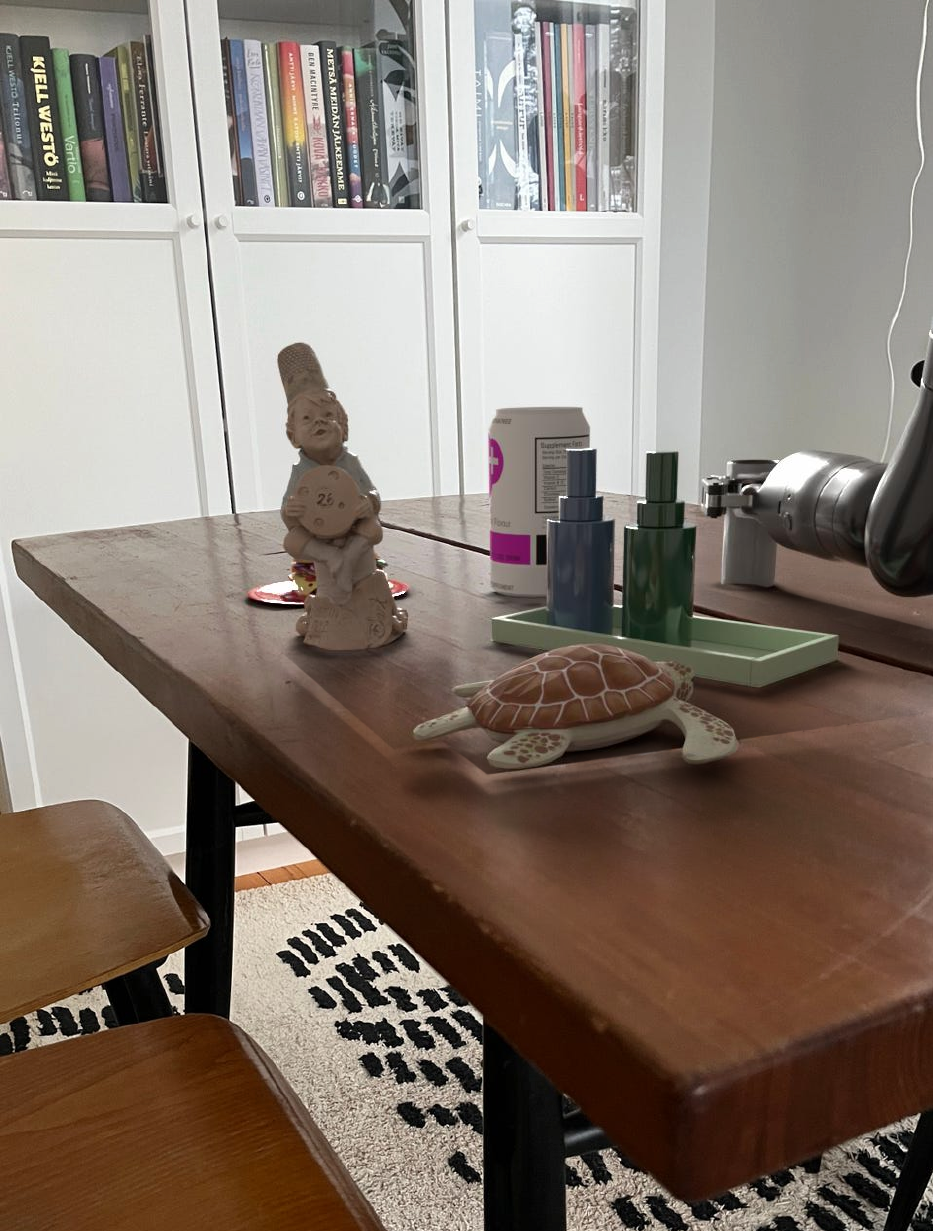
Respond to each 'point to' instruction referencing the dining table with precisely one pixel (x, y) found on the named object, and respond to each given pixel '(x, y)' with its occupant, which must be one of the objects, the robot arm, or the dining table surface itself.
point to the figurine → (333, 517)
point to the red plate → (307, 584)
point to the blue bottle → (581, 552)
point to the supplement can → (527, 490)
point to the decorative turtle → (583, 707)
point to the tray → (714, 651)
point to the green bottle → (659, 560)
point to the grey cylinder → (747, 538)
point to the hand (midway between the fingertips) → (740, 486)
